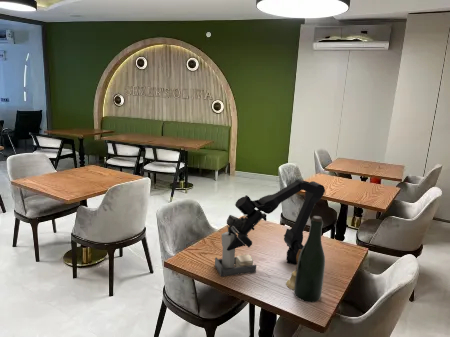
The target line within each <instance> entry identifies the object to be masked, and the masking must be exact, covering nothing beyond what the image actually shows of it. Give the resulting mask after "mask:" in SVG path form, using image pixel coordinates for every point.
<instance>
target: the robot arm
mask: <svg viewBox="0 0 450 337" xmlns="http://www.w3.org/2000/svg"><path fill="white" fill-rule="evenodd" d="M301 191H304V196H305V197H304V200H303V204H302V205H301V207H300V209H299V213H298V215H297V217H296V219H295V222H294V224H293V226H292V227H291V228H286V230H285V234H284V235H283V240H284V243H286V246H287V247H288V249H287V251H286V263H287V264H291V265H296V266H297V261H296V256H297V253H298V251H299V249H301V250H302V248H303V246H304V245H303V241H304V230H305V228H306V225H307V224H308V222H309V219H310V216H311V215H312V212H313V209H314V207H315V205H316V204H317V203H318V202H320V200H322V198H323V196H324V194H325V192H326V189H325V185H323V184H321V183H318V182H316V181H306V180H302V179H300V178H299V179H298V178H297V179H296V180H295V181H294V182H292V183H290V184H288V185H287V186H285V187H283V188H282V189H280V190H278V191H276V192H275V193H273V194H268V195H264V196H262V197H260V198H259V199H253V200H252V198H250V196H249V195H248V194H247V195H245V196H242V197H239V198H238V199H237V200H236V202H235V204H234V205H235V207H236V208H237V209H238V210H239V211H240V212H241V213H242V214H243V215H245V217H244V216H241V217H240V218H239V217H237V216H234V215H232V214H229V215H228V218H227V220H226V225H227V232H229V225H231V233H232V234H234V235H235V237H234V240H233V242H232V243H231V244H230V245H229V246H228V248H227V250H228V251H230V250H232V249H235V250H236V249H238V248H242V247H246V246H247V248H249V249H250V248H251V247H252V246H253V241H252V240H251V239H250V238H249V233H250V232H251V231H254V230H255V226H256V225H258V223H260V222H261V220H263V221H265V222H266V221H267V215H269V214H271V213H273V212H274V211H275V210H276V209H277V208H278V207H279V205H280V204H281V203H282V202H284V201H286V200H288V199H289V198H291V197H292V196H295V195H296V194H297V193H298V194H299V192H301ZM230 217H231V218H230Z"/></svg>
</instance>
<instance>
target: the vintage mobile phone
mask: <svg viewBox="0 0 450 337" xmlns="http://www.w3.org/2000/svg"><path fill="white" fill-rule="evenodd" d="M230 218H231V217H230ZM228 227H229V232H228V231H226V232H223V233H221V246H222V253H221V254H222V257H221V259H222V267H223V269H225V268H233V267H235V265H234V261H235V257H236V248H235V249H232V250H230V251H228V250H227V248H228V246H229V245H230V244H231V243H232V242H233V240H234V237H235V235H234V234H232V233H231V225H228Z"/></svg>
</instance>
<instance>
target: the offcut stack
mask: <svg viewBox="0 0 450 337" xmlns="http://www.w3.org/2000/svg"><path fill="white" fill-rule="evenodd" d="M235 257H236V264H235V267H241V266H249V265H254V260H253V258H252V257H251V256H250V254H243V255H236V256H235Z"/></svg>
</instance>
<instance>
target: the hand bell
mask: <svg viewBox="0 0 450 337" xmlns="http://www.w3.org/2000/svg"><path fill="white" fill-rule="evenodd" d="M300 252H301V249H299V251H298V253H297V256H296V261H297V264H298V259H299V255H300ZM296 271H297V266H296V268H295V270H293V271H292V273H291V275H290V278H289V279H288V280H287V281H286V284H285V285H286V287H288V288H289V289H290V290H292V291H294V285H295V278H296Z"/></svg>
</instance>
